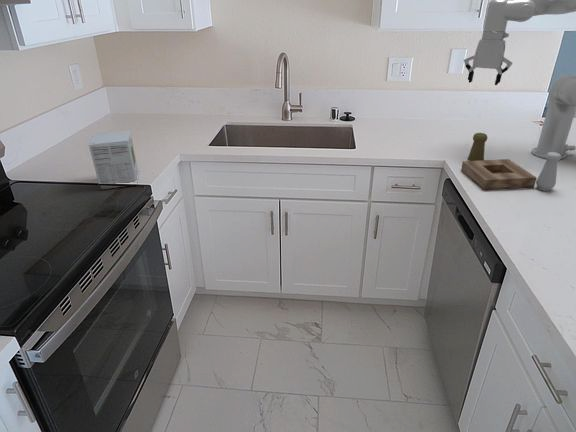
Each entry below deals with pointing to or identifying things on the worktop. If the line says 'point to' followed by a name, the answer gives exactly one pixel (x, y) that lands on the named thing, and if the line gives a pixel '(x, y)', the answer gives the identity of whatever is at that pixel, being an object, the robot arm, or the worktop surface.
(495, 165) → the walnut holder
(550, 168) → the salt shaker
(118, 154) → the supplement box
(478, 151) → the olive pepper mill
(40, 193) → the worktop surface
